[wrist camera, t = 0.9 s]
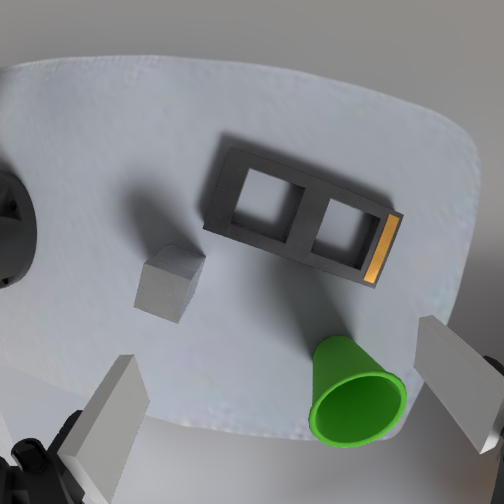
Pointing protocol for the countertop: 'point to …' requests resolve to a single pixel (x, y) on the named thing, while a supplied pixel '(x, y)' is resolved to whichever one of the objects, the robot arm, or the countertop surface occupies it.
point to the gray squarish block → (169, 282)
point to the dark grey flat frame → (302, 219)
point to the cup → (352, 395)
